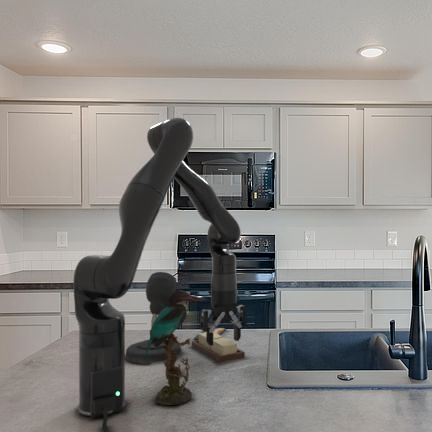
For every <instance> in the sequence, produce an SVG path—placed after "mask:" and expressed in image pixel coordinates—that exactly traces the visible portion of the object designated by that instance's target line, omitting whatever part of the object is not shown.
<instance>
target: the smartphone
mask: <svg viewBox="0 0 432 432" xmlns="http://www.w3.org/2000/svg"><path fill="white" fill-rule="evenodd" d="M205 332H206V331H203V330H201V332H200V333H205ZM213 332H214V333H216V334H218V335H220V336H222V335H223V334H224V333H225V332H227V329H226V328H224V327H215V329H214V330H213ZM196 340H199V333H198V334H197V335H196V336H195V337H194V338H193V341H196Z"/></svg>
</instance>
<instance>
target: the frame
mask: <svg viewBox="0 0 432 432" xmlns="http://www.w3.org/2000/svg"><path fill="white" fill-rule="evenodd" d="M191 347H192V348H194V349H195V350H198V351H199V352H200V353H202V354H204V355H206V356H207V357H208V358H211V359H213V360H214V361H216V362H218V363H224V362H229V361H234V360H238V359H239V360H240V359H243V358H245V353H246V352H245V351H243V350H241V349H239V348H237V353H233V354H228V355H223V356H220V355H218V354H216V353H215V352H213V351H211V350H209V349H207V348H206V347H204V346H202V345H200V344H199V340H191Z"/></svg>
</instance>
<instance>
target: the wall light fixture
mask: <svg viewBox="0 0 432 432" xmlns="http://www.w3.org/2000/svg"><path fill="white" fill-rule="evenodd" d="M177 287H178V286H177V278H176V277H175V276H174V275H172V274H171V273H168V272H165V271H155V272H154V273H151V274H150V276H149V278H148V280H147V282H146V288H145V296H146V300H147V301H148V302H149V303H150V304H149V311H150V313H151V320H150V322H151V323H150V330H149V332H150V331H151V328H152V326H153V323H154V321H155V319H156V318H157V316H158V315H159V314H160V312H161V311H162V310H163V309H165V306H167V303H168V300H169V298H170V295H171V294H172V293H173V292H174V291H176V290H177ZM153 342H154V340H153ZM153 342H152V343H151V345H150V348H149V350H148V353H147V355H146V357H145V359H144V360H143V358H144V355H145V353H146V349H147V346H148V343H149V339H145V340H142V341H138V342H134V343H132V344H130V345H129V346H128V347H127V348H125V361H128V362H129V363H132V364H140V365H149V364H152V363H159V362H165V361H166V357H165V356H166V355H167V352H166V350H165V349H164V347H165V345H166V344H164V342H163V343H161V344H160V345H159V346H158V347H157V348H156V347H155V346H154V343H153ZM181 347H182V346H179V345H178V344H176V343H175V344H174V345H173V346H172V350H174V351H176V352H177V355H178V356H180V354H181V353H182V348H181Z"/></svg>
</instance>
